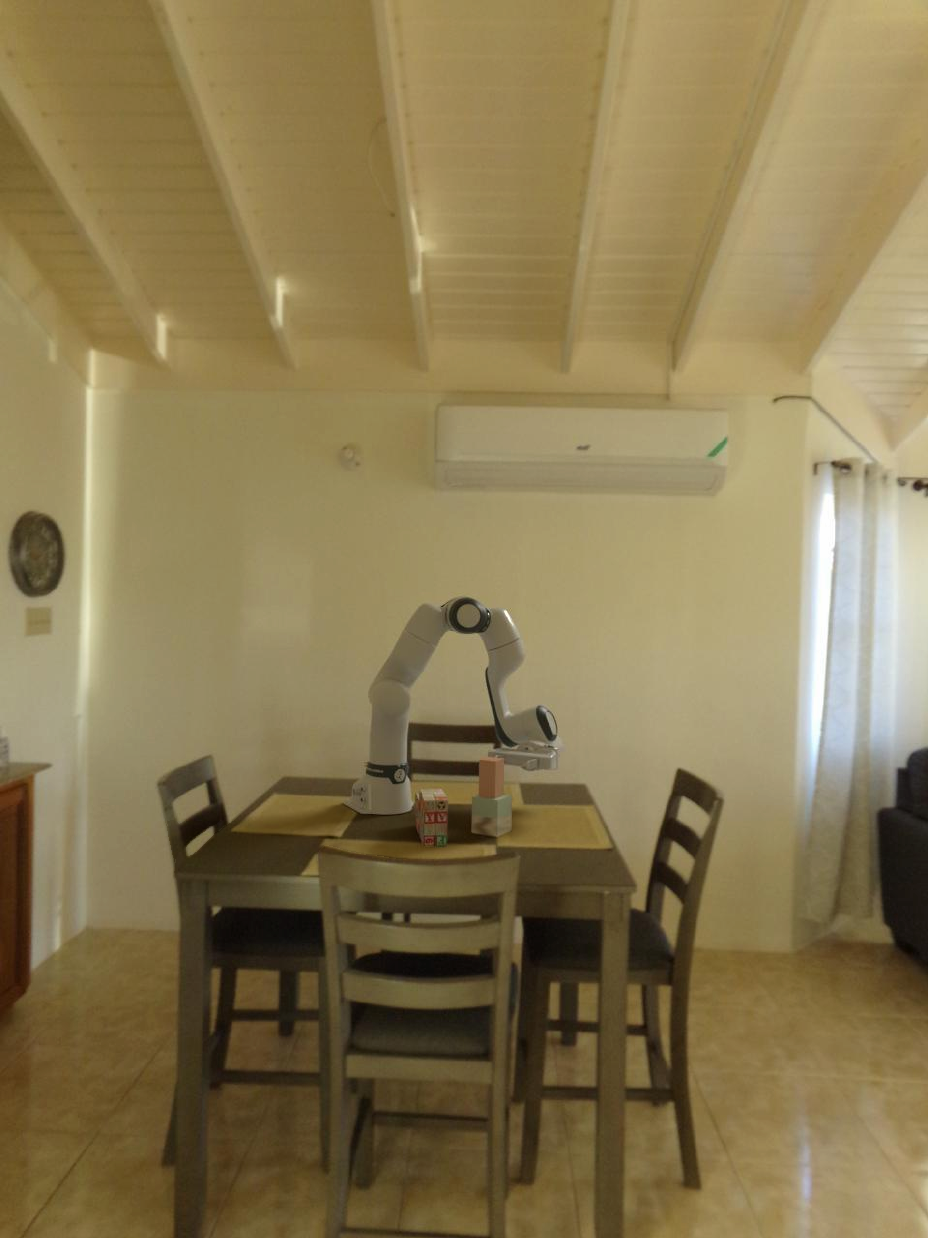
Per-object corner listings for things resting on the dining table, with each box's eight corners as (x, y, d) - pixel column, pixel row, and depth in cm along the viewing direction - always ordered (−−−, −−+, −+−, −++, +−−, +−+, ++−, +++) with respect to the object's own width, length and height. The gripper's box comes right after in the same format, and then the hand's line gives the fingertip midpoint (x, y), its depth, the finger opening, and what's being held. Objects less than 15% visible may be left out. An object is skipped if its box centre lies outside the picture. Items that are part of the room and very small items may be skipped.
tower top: (471, 814, 254) (471, 796, 253) (486, 808, 260) (486, 791, 260) (497, 819, 249) (497, 800, 249) (511, 813, 256) (512, 794, 256)
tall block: (478, 796, 254) (479, 759, 253) (487, 792, 258) (487, 756, 258) (495, 798, 251) (495, 761, 251) (503, 795, 256) (504, 758, 255)
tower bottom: (471, 833, 254) (471, 814, 254) (486, 826, 261) (486, 808, 260) (497, 837, 250) (497, 819, 249) (511, 831, 257) (511, 812, 256)
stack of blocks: (414, 825, 260) (415, 781, 260) (437, 825, 261) (437, 781, 261) (423, 847, 239) (424, 799, 239) (447, 846, 240) (448, 799, 240)
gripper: (500, 741, 280) (477, 748, 268) (563, 748, 270) (542, 755, 258) (499, 762, 281) (477, 770, 269) (562, 769, 270) (542, 778, 258)
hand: (510, 763), depth 263 cm, fingers open, 8 cm apart
